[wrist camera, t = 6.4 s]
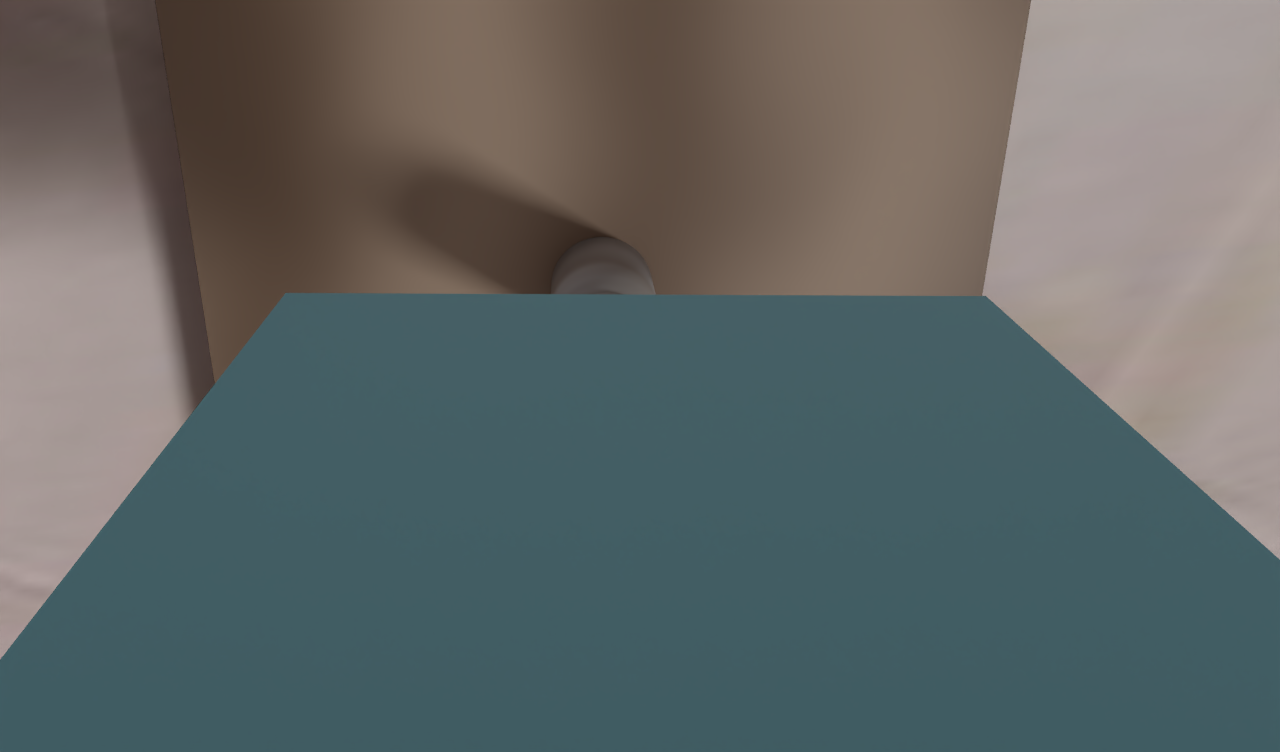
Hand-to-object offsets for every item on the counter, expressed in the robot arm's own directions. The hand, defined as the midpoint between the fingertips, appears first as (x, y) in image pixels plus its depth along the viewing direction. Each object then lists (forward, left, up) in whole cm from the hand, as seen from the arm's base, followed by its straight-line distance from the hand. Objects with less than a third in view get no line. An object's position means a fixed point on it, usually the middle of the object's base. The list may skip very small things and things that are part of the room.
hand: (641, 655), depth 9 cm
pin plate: (0, 0, -11) cm, 11 cm away
